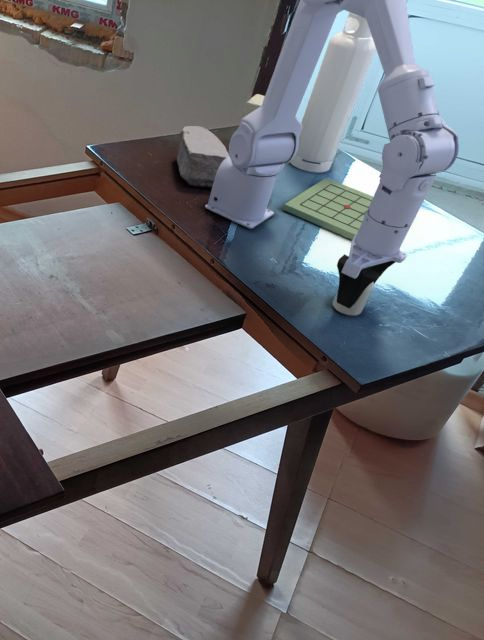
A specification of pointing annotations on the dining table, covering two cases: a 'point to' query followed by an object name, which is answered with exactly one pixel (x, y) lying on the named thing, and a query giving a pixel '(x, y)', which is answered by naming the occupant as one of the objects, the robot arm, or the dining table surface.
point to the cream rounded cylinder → (358, 306)
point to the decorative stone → (199, 156)
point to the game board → (331, 207)
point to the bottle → (334, 94)
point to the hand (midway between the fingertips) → (351, 298)
